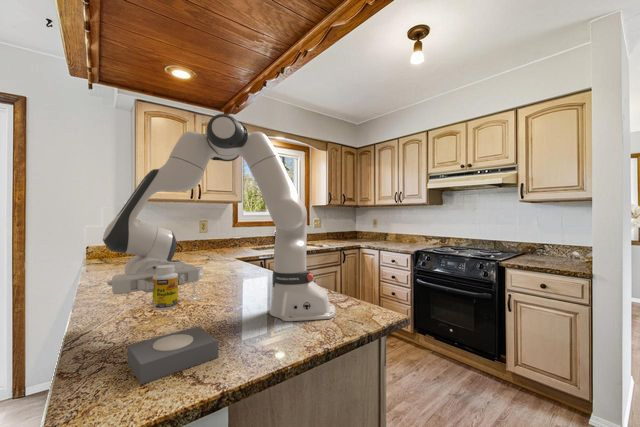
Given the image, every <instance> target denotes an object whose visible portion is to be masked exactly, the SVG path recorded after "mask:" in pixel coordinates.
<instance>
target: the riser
mask: <svg viewBox="0 0 640 427" xmlns="http://www.w3.org/2000/svg"><path fill="white" fill-rule="evenodd" d="M126 356H127V357H126V359H127V360H126V362H127V364H128V366H129V367H130V370H131V371H132V373H133V374H134V376H135V377H136V379H137V381H138V383H139V384H140V385H144V384H146V383H149V382H152V381H155V380H158V379H161V378H164V377H166V376H169V375H173V374H175V373H178V372H181V371H183V370H186V369H189V368H192V367H195V366H197V365H201V364H203V363H206V362H209V361H212V360H215V359H218V358H219V340H218V339H217V338H215V337H214V336H213V335H211V334H210V333H208V332H207V331H206V330H204V329H203V328H201V327H200V326H198V325H197V326H194V327H190V328H187V329H181V330H179V331H175V332H171V333H167V334H164V335H160V336H156V337H152V338H149V339H144V340H141V341H137V342H133V343H131V344H127V345H126Z"/></svg>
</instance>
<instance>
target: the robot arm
mask: <svg viewBox="0 0 640 427" xmlns="http://www.w3.org/2000/svg"><path fill="white" fill-rule="evenodd" d="M205 129H206V132H205V133H200V132H197V131H193V130H192V131H191V130H189V131H186V132H183V133H182V134H181V136H180V137H179V139H177V141H176V143H175V144H174V146H173V149H172V150H171V152H170V155H169V156H168V159H167V161H166V162H165V163H164V164H163V165H162V166H161V167H160V168H155V169H151V170H150V171H149V172H148V173H147V174H146V175H145V176H144V177H143V179H142V180H141V181H140V183H139V184H138V185H137V186H136V188H135V189H134V191H133V192H132V194H131V195H130V197H129V198H128V200H127V201H126V202H125V203H124V205H123V207H122V208H121V210H120V211H119V213H118V214H117V215H116V217H115V218H114V219H113V220H112V221H111V222H110V223H109V224H108V226H107V227H106V228H105V231H104V232H103V237H102V241H103V243H104V244H105V246H106V248H108V250H109V251H110V252H113V253H120V254H128V255H133V256H132V257H131V258H129V260H128V261H127V262H126V263H125V265H124V273H121V274H116V275H113V276H112V278H111V280H107V282H106V285H108V286H111V291H112V294H113V295H123V294H129V293H134V292H136V293H137V292H145V293H153V289H154V282H153V276H154V275H155V274H157V273H156V267H157V266H160V265H174V268H175V271H174V272H175V273H177V274H178V286H183V285H184V286H185V284H189V283H192V282H195V283H197V282H198V281H200V280H199V278H200V272H199V268H198V267H199V266H196V265H193V264H190V263H185V261H184V260H178V259H177V260H173V258H174V256H175V253H176V251H177V250H176V249H177V246H178V242H177V240H176V235H175V234H174V232H173V231H172V230H170V229H167V228H163V227H159V226H156V225H152V224H148V223H146V222H143V221H142V222H141V221H140V220H137V217H138V216H139V214H140V213H141V211H142V209H144V207H145V205H146V204H147V202H148V201H149V199H150V198H151V197H152V196H153V195H155V194H156V193H159V192H187V191H190V190H193V189H195V188H196V187H197V186H199V183H200V182H201V180H202V178H203V176H204V173H205V171H206V168H207V165H208V163H209V162H210V160H212V161H219V162H220V161H221V162H233V161H235V160H237V159H238V158H239V157H241V158H243V160H244V161H245V162H246V164H247V167H248V168H249V170H250V173H251V175H252V177H253V179H254V180H255V183H256V186H257V187H258V189H259V191H260V193H261V196H262V199H263V201H264V204H265V206H266V208H267V211H268V213H269V215H270V218H271V220H272V222H273V224H274V225H275V238H274V246H273V257H274V258H273V271H272V279H271V280H272V282H271V283H272V287H273V291H272V293H273V294H272V297H271V298H272V300H271V304H270V308H269V311H268V312H269V315H270V316H272V317H275V318H278V319H280V320H281V321H283V322H298V321H299V322H302V321H313V320H314V321H315V320H329V319H332V318H334V316H335V315H336V307H335V305H334V304H332V303H330V301H329V296H328V294H327V291H326V290H325V289H324V288H322V287H321V286H319V285H318V284H317V283H316V282H314V281H313V279H314V274H313V272H312V270H308V269H307V244H308V242H307V240H308V237H307V234H308V211H307V208H306V206H305V204H304V203H303V202H302V200H301V197H300V195H299V194H298V192H297V190H296V188H295V184H294V183H293V180H292V179H291V177H290V174H289V173H288V171H287V168H286V166H285V165H284V162H283V161H282V158H281V157H280V155H279V153H278V151H277V149H276V148H275V146H274V145H273V143H272V142H271V140H270V139H269V137H268V136H267V135H266V134H265V133H264V132H262V131H252V132H249V130H248V128H247V127H246V126H244V125H243V124H242V123H241V122H239V121H238V120H237V119H236V118H235V117H233V116H232V115H229V114H227V113H219V114H216V115H214V116H212V117H211V118H210V119H209V121H208V123H207V125H206V128H205Z"/></svg>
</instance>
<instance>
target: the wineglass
mask: <svg viewBox="0 0 640 427" xmlns="http://www.w3.org/2000/svg"><path fill="white" fill-rule="evenodd" d="M197 267H198V268H199V272H200V278H199V281H200V280H201V279H202V278H203V276H204V271H203V269H204V267H203V266H197ZM191 283H193V284H192V286H193V288H192V289H193V296H191V297H188V298H187V300H188V301H198V300H200V299H202V297H201V296H196V282H191Z"/></svg>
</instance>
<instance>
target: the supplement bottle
mask: <svg viewBox="0 0 640 427" xmlns="http://www.w3.org/2000/svg"><path fill="white" fill-rule="evenodd" d="M174 271H175V268H174V265H160V266H157V267H156V273H157V274H155V275H154V276H153V282H154V289H153V292H152V308H153V309H154V310H155V311H168V310H173V309H175V308H176V307H177V306H178V304H179V285H178V274H177V273H175V272H174Z"/></svg>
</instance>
